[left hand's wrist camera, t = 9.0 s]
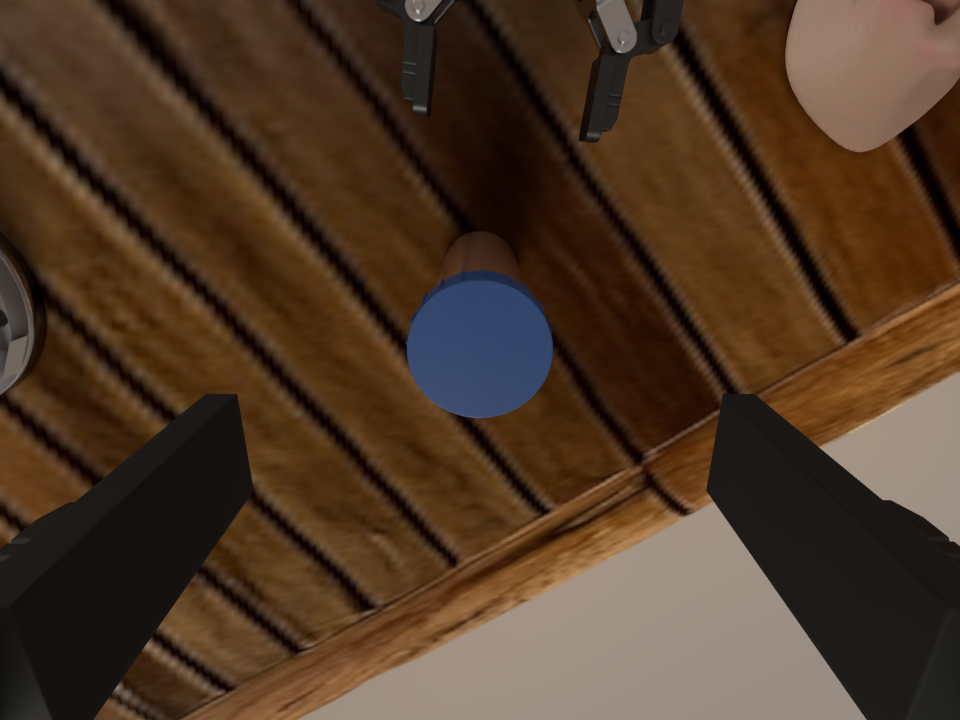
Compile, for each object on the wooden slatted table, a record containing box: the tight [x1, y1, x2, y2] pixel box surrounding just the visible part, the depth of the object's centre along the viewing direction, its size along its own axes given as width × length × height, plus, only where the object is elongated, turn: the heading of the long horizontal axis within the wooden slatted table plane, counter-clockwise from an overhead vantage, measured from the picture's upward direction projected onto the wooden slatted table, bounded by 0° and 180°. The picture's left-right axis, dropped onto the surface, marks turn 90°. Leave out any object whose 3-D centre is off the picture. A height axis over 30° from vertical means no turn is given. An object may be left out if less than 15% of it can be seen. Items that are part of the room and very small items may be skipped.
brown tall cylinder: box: [432, 231, 527, 289], centre depth 27 cm, size 5×5×16 cm
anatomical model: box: [785, 0, 960, 152], centre depth 28 cm, size 13×4×12 cm
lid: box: [406, 269, 553, 418], centre depth 20 cm, size 6×6×2 cm
